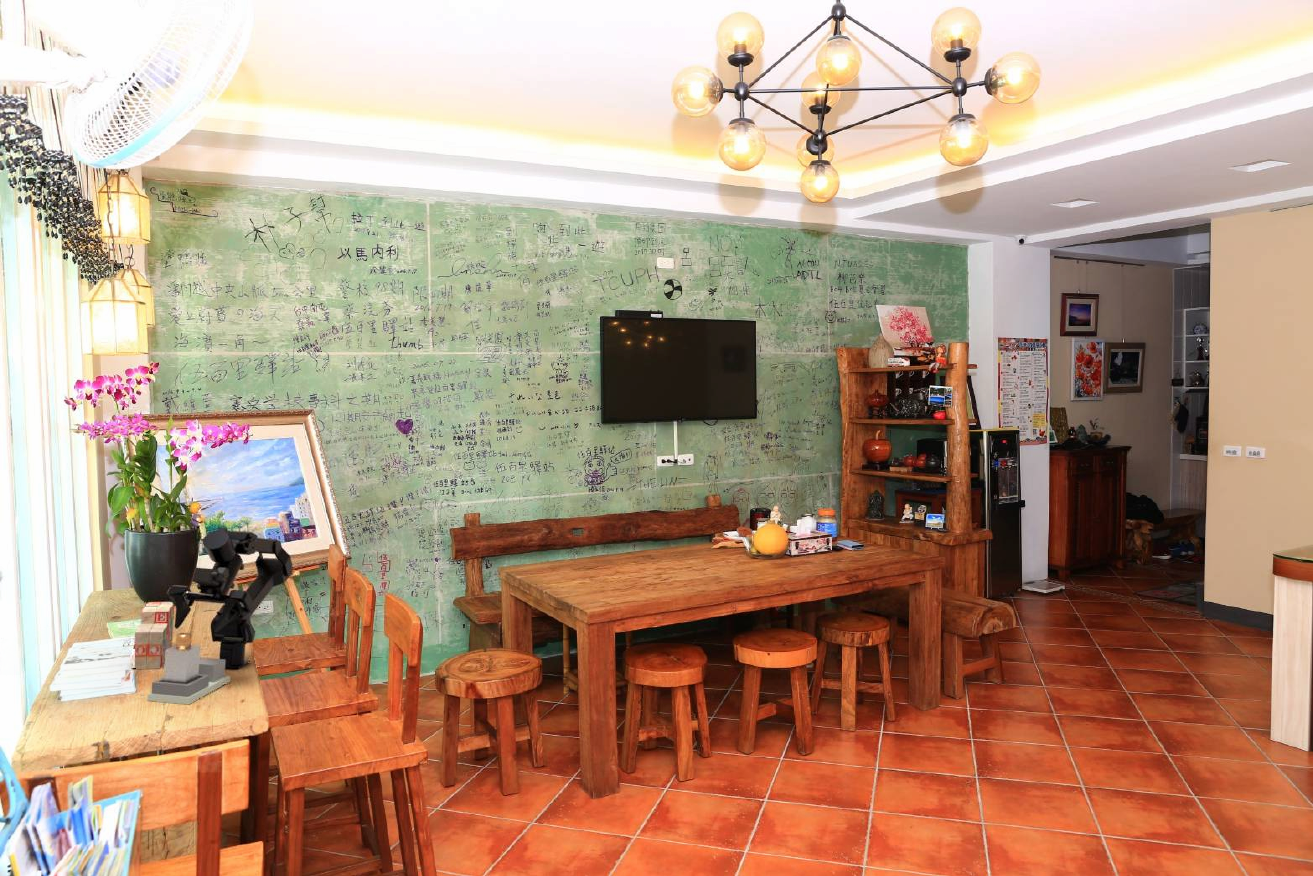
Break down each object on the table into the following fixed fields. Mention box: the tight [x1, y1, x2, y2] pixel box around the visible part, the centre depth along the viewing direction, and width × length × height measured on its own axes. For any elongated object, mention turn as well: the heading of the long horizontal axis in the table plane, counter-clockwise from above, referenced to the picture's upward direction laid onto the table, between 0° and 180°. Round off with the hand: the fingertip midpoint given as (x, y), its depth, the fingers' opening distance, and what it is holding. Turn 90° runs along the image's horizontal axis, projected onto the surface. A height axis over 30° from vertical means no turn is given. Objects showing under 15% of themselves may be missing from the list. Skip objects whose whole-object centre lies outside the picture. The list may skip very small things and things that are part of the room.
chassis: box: [147, 656, 231, 705], centre depth 203 cm, size 17×9×6 cm, turn 177°
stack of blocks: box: [132, 601, 175, 670], centre depth 226 cm, size 21×6×12 cm, turn 22°
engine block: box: [163, 632, 201, 684], centre depth 198 cm, size 5×5×12 cm
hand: (195, 629), depth 205 cm, fingers open, 9 cm apart
